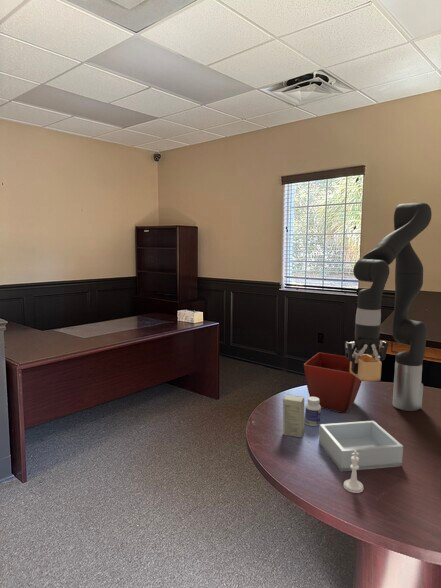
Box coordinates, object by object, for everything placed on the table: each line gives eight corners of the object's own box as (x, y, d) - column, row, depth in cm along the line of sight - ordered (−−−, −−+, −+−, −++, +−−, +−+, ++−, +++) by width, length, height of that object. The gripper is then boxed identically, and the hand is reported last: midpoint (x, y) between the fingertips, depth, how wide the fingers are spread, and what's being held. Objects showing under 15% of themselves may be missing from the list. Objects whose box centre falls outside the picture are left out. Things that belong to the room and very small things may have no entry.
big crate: (372, 438, 131) (373, 420, 131) (401, 466, 116) (403, 446, 115) (318, 442, 129) (319, 424, 128) (341, 471, 113) (342, 451, 112)
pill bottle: (320, 427, 139) (321, 402, 138) (304, 425, 140) (305, 401, 139) (320, 420, 144) (321, 396, 143) (304, 419, 145) (305, 395, 144)
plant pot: (365, 400, 161) (367, 359, 158) (353, 419, 145) (355, 373, 142) (317, 391, 171) (318, 351, 168) (301, 407, 154) (302, 364, 152)
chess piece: (340, 481, 108) (342, 446, 107) (358, 481, 109) (360, 445, 107) (347, 493, 104) (349, 456, 102) (366, 492, 104) (369, 455, 103)
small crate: (366, 371, 138) (367, 354, 138) (380, 380, 130) (381, 362, 129) (349, 372, 137) (350, 354, 137) (362, 381, 129) (363, 362, 128)
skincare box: (304, 432, 135) (305, 397, 133) (301, 438, 131) (302, 402, 130) (285, 428, 138) (286, 393, 136) (281, 434, 134) (282, 398, 132)
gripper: (382, 319, 136) (379, 368, 138) (341, 320, 134) (338, 370, 136) (395, 324, 128) (391, 376, 131) (352, 325, 126) (348, 377, 129)
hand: (364, 372), depth 133 cm, fingers closed on small crate, 6 cm apart
